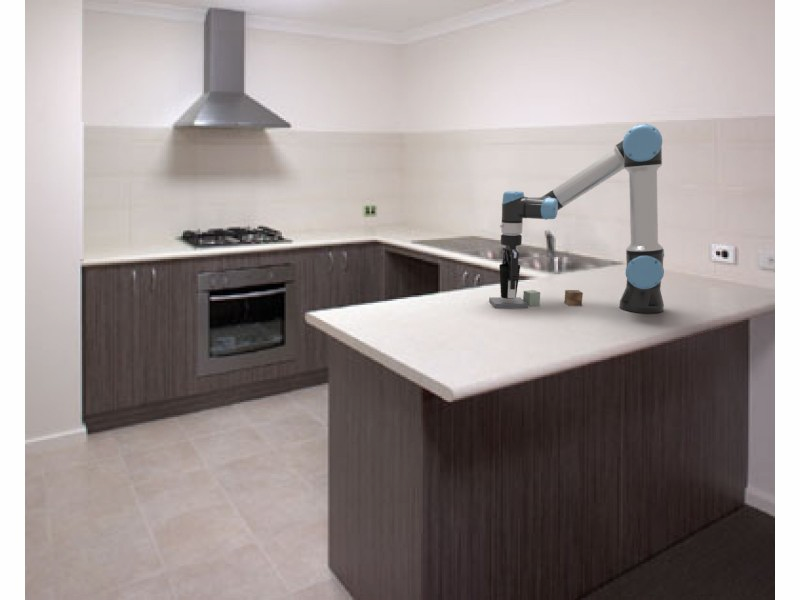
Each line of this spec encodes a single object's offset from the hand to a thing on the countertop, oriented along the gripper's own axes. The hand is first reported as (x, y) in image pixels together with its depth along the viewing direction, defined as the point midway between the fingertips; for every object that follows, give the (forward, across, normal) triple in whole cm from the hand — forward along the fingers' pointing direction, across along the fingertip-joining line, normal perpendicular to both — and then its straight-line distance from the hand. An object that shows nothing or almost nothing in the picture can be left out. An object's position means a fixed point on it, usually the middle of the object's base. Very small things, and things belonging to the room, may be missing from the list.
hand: (508, 295), depth 236 cm
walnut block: (+4, 0, +25) cm, 25 cm away
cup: (+1, 0, 0) cm, 1 cm away
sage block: (+4, 0, +9) cm, 10 cm away
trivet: (+4, 0, 0) cm, 4 cm away
